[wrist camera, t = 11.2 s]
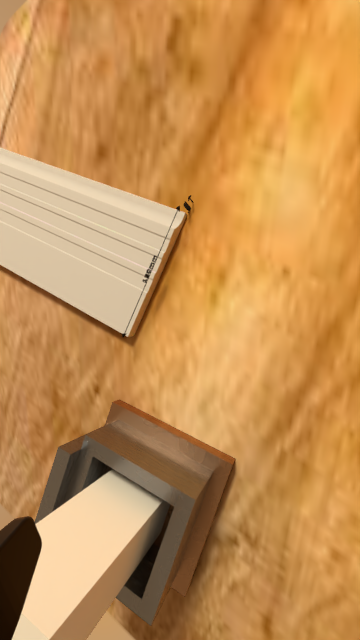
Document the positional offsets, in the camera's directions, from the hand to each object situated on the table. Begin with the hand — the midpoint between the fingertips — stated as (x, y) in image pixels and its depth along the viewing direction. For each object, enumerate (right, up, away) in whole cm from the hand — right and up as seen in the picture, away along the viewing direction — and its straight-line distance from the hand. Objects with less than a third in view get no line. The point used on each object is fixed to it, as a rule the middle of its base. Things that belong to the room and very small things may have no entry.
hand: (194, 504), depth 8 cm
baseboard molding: (-14, +15, +22) cm, 31 cm away
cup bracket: (-3, -8, +15) cm, 18 cm away
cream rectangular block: (-3, -8, +15) cm, 17 cm away
